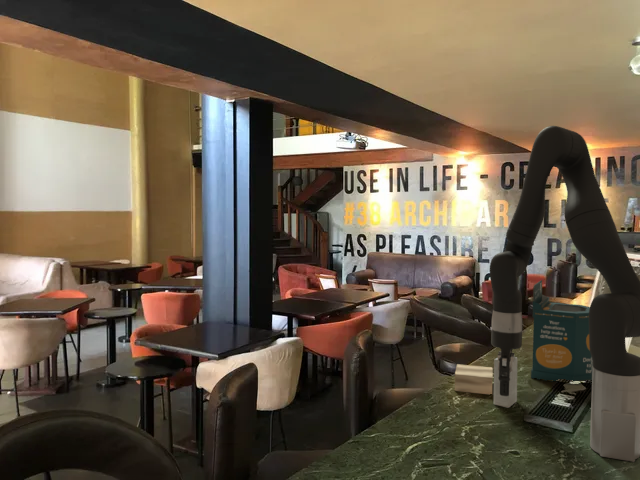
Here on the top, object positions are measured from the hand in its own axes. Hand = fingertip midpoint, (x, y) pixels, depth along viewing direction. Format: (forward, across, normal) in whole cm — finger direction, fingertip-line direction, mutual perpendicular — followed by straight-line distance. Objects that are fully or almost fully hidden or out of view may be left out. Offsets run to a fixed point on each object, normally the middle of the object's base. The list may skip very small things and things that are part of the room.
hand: (505, 390), depth 138 cm
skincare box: (+3, 0, 0) cm, 3 cm away
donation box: (+4, +32, -15) cm, 36 cm away
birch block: (+4, +10, +9) cm, 14 cm away
